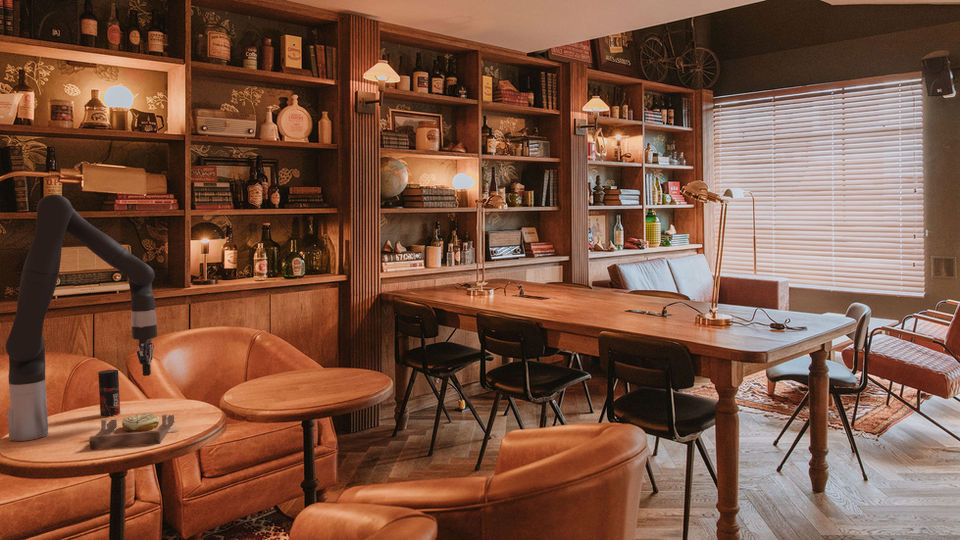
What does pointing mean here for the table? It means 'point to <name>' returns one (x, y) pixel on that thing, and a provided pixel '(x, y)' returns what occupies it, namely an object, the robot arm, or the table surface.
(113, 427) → the u-shaped frame
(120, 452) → the table surface
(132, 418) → the decorated donut
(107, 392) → the deodorant
